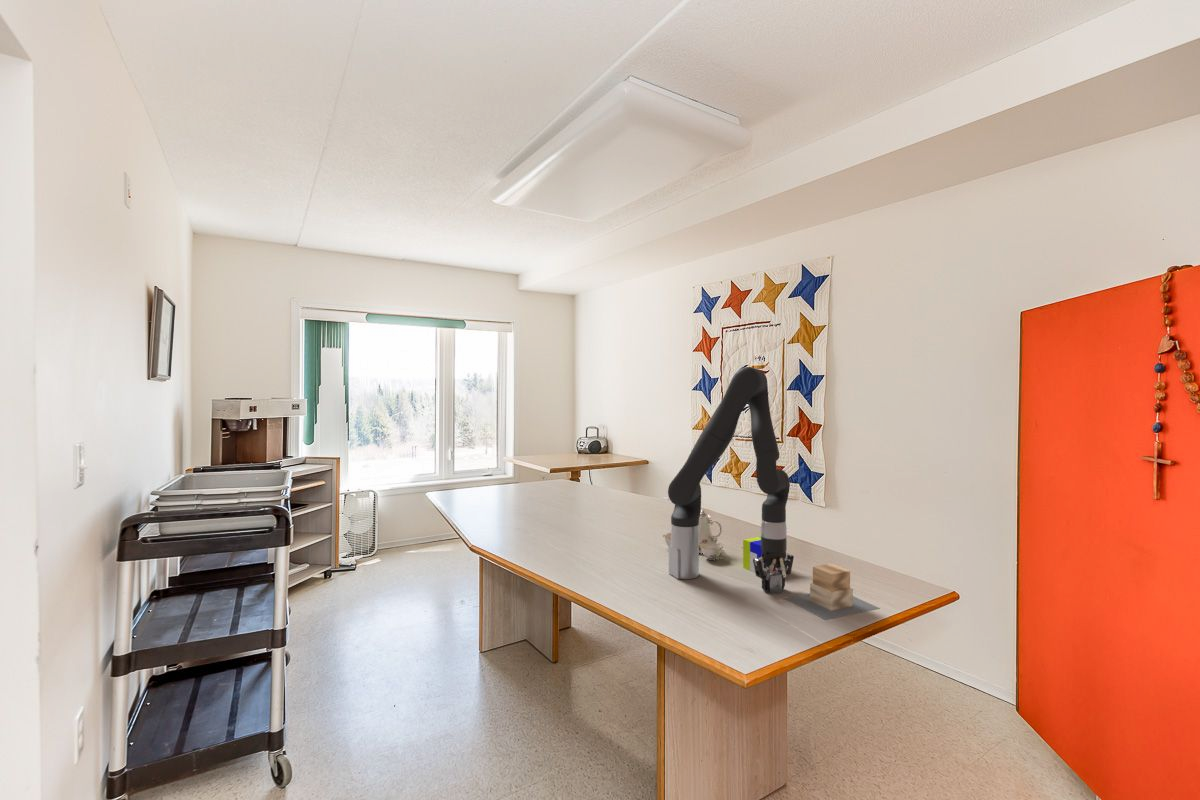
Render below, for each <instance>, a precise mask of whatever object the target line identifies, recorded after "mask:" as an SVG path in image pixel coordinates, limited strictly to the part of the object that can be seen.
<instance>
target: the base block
mask: <svg viewBox="0 0 1200 800" xmlns="http://www.w3.org/2000/svg"><path fill="white" fill-rule="evenodd" d="M853 591H854V589H853V588H852V587H850V589H845V590H839V591H834V592H830V591H828V590H826V589H823V588H821V587H819V586H817V585H815V584H813V582H810V583H809V594H810V600H811V601H813V602H815V603H817V604H819V605H821V606H823V607H825V608H827V609H829V610H831V611H832V610H837V609H842V608H846V607H851V606H853V596H854V594H853V593H854V592H853Z"/></svg>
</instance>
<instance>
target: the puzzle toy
mask: <svg viewBox="0 0 1200 800" xmlns="http://www.w3.org/2000/svg"><path fill="white" fill-rule="evenodd" d="M742 541H743V545H742V547H743V549H742V551H743V552H742V556H743V557H742V563H743V564H742V566H743V567H742V568H743V569H745V570H748V571H750V572H753V573H755V568H754V563H753V559H754V558H756V559H758V558H760V557H761V555H762V550H761V535H760V536H755V537H750V538H744V539H743V540H742ZM785 553H787V551H786V552H785ZM783 563H784V562H783ZM762 564H763V562H762ZM762 566H763V565H762ZM767 569H769V568H768V567H767ZM773 571H777V569H776V568H775V569H773Z"/></svg>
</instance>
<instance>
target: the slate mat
mask: <svg viewBox="0 0 1200 800" xmlns="http://www.w3.org/2000/svg"><path fill="white" fill-rule="evenodd" d="M784 599H785V600H787V601H789V602H790V603H792V604H794V605H795V606H798V607H800V608H802V609H803V610H805V611H807V612H809V613H811V614H813V615H815V616H817V617H818V618H821V619H822V620H825V621H828V620H832V619H837V618H841V617H848V616H851V615H855V614H861V613H865V612H870V611H876V610H880V609H881V607H878V606H876V605H873V604H871V603H869V602H867V601H865V600H863V599H861V598H858V597H855V596H854V595H853V606H851V607H846V608H842V609H837V610H832V611H831V610H829V609H827V608H825V607H823V606H821V605H819V604H817V603H815V602H813V601H811V600H810V593H806V594H800V595H793V596H789V597H784Z"/></svg>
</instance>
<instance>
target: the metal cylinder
mask: <svg viewBox="0 0 1200 800" xmlns="http://www.w3.org/2000/svg"><path fill="white" fill-rule="evenodd" d="M765 575H766V574H765ZM782 592H783V589H782V573H780V572H778V571H772V573H771V574H770V577H769V592H767V593H768V594H772V595H780V594H782Z"/></svg>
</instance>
